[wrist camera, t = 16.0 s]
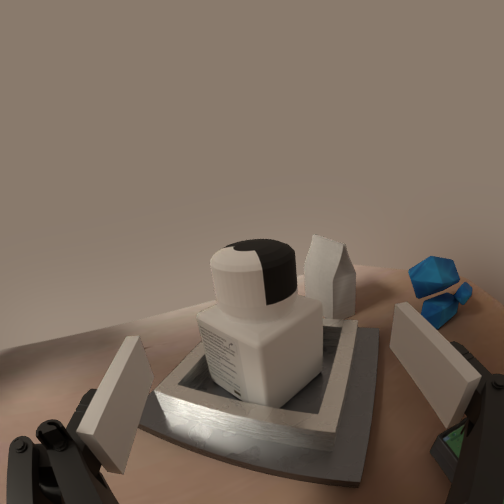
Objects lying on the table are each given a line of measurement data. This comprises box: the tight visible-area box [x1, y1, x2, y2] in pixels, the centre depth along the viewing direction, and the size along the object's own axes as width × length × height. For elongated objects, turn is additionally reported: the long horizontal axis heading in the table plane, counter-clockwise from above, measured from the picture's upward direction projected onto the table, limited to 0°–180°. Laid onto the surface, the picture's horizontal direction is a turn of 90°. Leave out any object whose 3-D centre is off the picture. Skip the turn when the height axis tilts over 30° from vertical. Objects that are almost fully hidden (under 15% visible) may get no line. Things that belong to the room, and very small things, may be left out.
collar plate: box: [138, 319, 379, 488], centre depth 26 cm, size 20×20×4 cm
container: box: [197, 239, 323, 409], centre depth 24 cm, size 8×8×13 cm
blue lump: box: [408, 256, 472, 330], centre depth 30 cm, size 7×9×12 cm
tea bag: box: [304, 234, 356, 320], centre depth 38 cm, size 4×7×10 cm, turn 21°
